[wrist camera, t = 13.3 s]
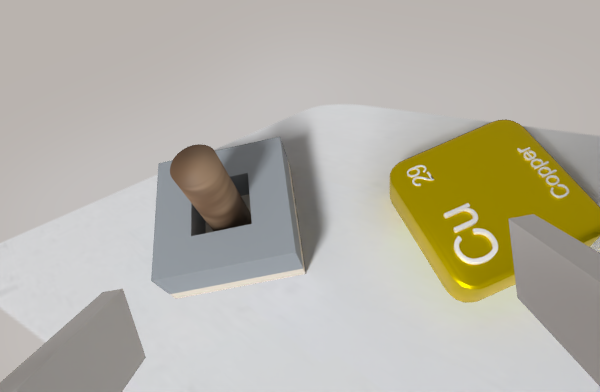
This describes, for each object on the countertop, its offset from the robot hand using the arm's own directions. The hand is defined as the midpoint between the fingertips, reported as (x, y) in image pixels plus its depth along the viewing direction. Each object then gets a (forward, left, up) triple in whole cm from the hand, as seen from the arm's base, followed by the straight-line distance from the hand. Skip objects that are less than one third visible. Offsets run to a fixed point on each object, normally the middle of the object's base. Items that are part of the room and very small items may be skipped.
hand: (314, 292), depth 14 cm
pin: (+10, -19, -26) cm, 33 cm away
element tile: (-16, -15, -28) cm, 35 cm away
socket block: (+10, -19, -27) cm, 35 cm away
